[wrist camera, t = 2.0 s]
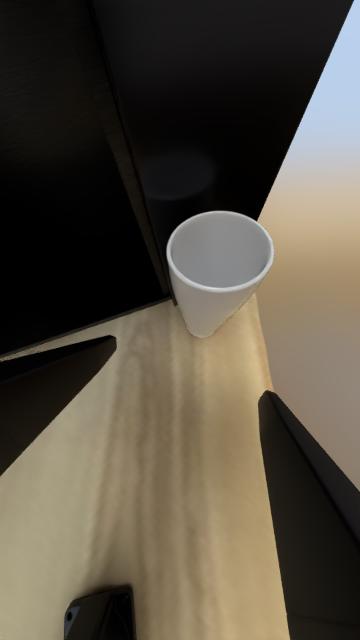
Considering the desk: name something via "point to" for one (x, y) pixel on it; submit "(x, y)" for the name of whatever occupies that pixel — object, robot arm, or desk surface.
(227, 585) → the desk surface
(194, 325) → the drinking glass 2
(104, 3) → the microwave
